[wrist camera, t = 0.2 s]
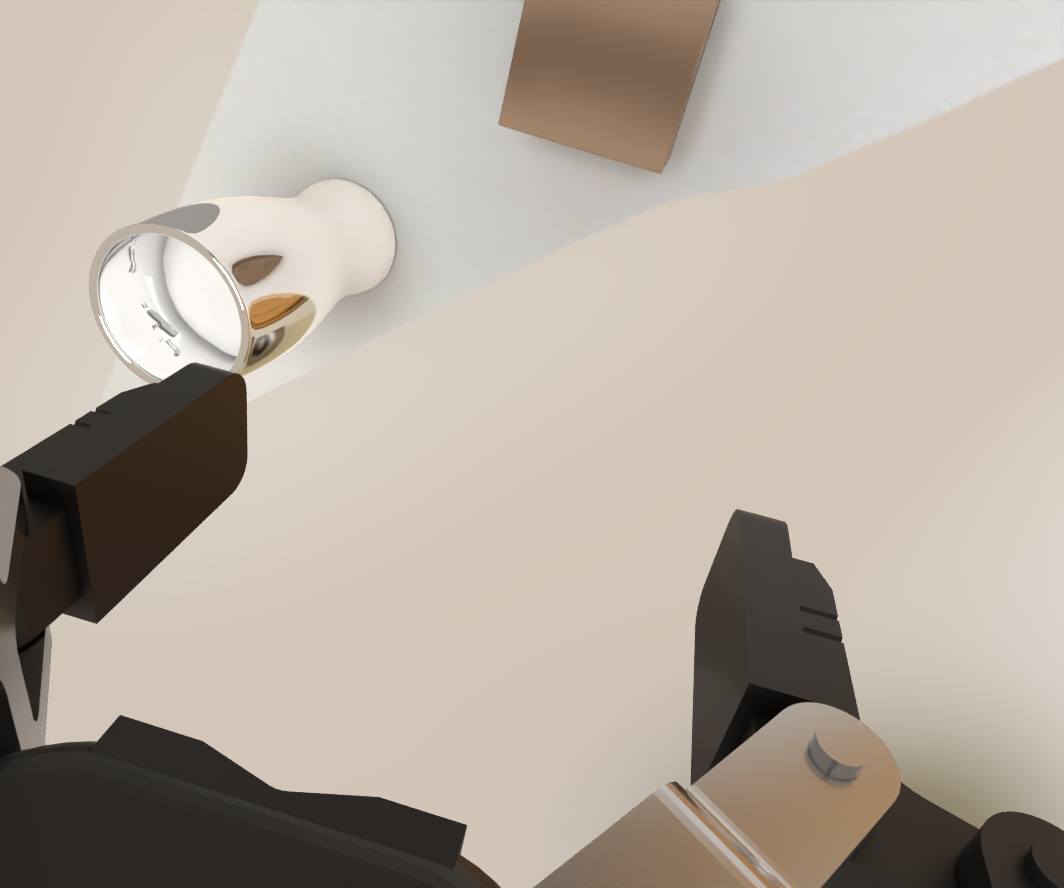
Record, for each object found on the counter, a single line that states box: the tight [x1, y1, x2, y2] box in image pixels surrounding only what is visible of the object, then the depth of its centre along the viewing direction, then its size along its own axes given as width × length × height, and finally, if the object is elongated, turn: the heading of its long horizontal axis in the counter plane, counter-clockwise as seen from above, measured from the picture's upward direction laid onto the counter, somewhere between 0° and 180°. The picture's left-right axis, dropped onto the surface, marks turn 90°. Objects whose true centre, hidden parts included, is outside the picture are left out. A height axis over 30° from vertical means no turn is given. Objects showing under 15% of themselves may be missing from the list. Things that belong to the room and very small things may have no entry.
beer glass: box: [89, 179, 396, 384], centre depth 34 cm, size 7×7×15 cm
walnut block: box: [498, 0, 720, 174], centre depth 32 cm, size 7×7×6 cm
